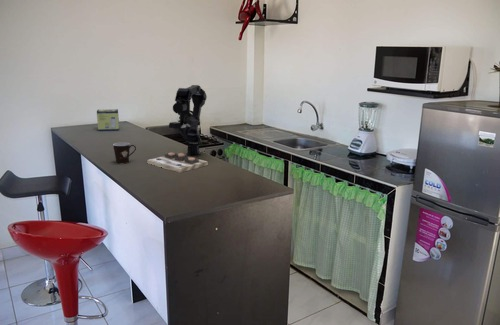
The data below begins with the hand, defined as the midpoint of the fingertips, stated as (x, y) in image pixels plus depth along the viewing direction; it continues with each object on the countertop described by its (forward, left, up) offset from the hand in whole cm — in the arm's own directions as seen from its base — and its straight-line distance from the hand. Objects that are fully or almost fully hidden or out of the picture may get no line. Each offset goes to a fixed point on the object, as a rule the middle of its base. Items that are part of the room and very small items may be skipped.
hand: (185, 139), depth 214 cm
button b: (+7, +12, -10) cm, 17 cm away
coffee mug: (+26, -20, -12) cm, 35 cm away
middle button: (+7, +4, -9) cm, 12 cm away
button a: (+7, -4, -10) cm, 13 cm away
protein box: (-23, -111, -12) cm, 114 cm away
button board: (+10, +4, -12) cm, 16 cm away
